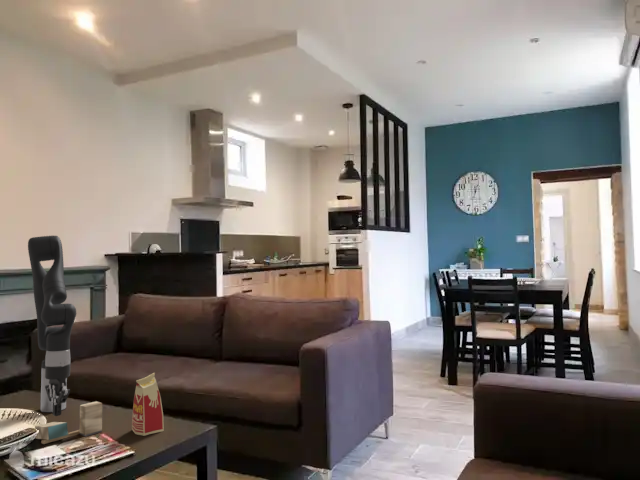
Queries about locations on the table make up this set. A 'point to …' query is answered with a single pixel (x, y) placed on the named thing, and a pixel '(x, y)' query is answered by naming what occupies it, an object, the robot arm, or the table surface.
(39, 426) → the teal-foot block
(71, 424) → the table surface
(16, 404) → the table surface
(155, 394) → the milk carton
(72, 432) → the strip
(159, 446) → the table surface
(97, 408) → the pale wooden block
